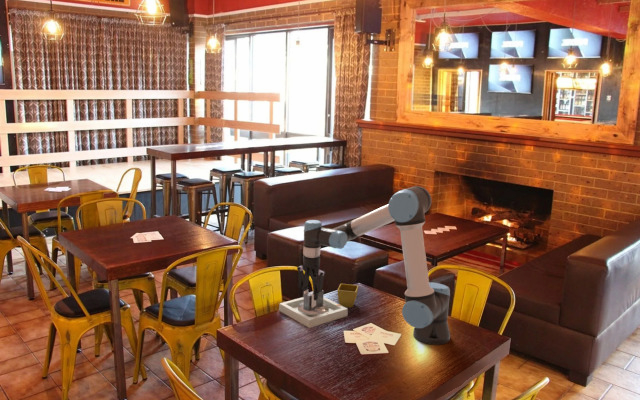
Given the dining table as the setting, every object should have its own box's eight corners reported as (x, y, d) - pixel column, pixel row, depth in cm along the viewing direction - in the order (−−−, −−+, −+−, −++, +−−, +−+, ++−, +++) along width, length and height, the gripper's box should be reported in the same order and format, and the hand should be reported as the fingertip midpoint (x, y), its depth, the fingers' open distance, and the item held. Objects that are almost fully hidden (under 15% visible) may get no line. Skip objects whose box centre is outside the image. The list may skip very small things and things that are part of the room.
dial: (334, 310, 258) (335, 292, 256) (314, 319, 247) (315, 300, 245) (311, 301, 266) (312, 284, 265) (291, 310, 256) (291, 292, 254)
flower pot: (354, 310, 263) (356, 291, 261) (336, 308, 264) (337, 289, 262) (357, 303, 271) (358, 285, 269) (339, 301, 273) (340, 283, 271)
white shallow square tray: (347, 315, 256) (347, 308, 255) (309, 327, 242) (309, 319, 241) (316, 300, 272) (316, 293, 272) (279, 310, 258) (279, 302, 258)
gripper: (332, 256, 248) (329, 306, 253) (300, 249, 256) (298, 298, 261) (323, 261, 242) (321, 312, 247) (291, 253, 250) (289, 303, 255)
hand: (309, 305), depth 254 cm, fingers open, 3 cm apart
